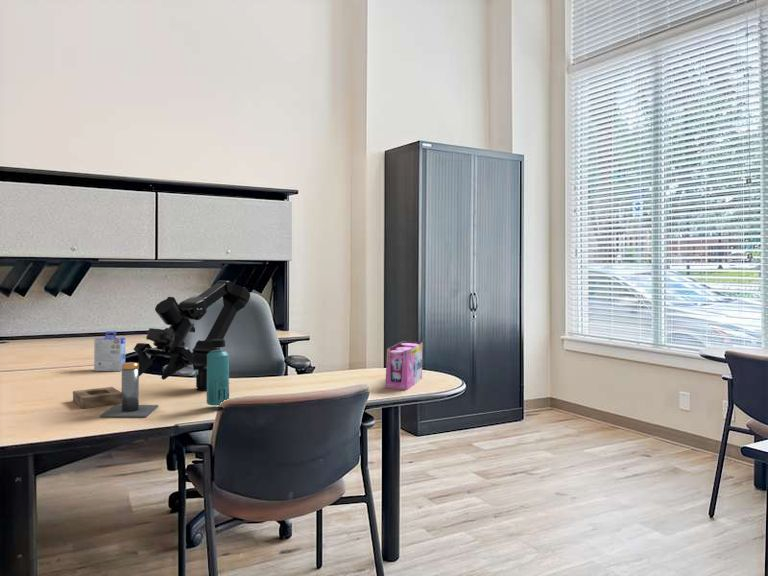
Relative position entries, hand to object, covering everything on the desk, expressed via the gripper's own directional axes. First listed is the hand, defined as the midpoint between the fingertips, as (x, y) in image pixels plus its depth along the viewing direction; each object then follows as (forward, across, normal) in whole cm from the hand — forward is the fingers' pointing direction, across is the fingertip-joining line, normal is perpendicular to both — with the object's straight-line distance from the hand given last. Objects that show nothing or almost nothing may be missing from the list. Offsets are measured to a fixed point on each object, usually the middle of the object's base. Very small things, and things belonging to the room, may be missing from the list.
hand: (149, 377), depth 179 cm
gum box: (-40, +54, +53) cm, 86 cm away
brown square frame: (+8, -17, +4) cm, 19 cm away
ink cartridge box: (-20, -53, +32) cm, 65 cm away
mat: (+11, 0, 0) cm, 11 cm away
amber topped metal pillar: (+11, 0, 0) cm, 11 cm away
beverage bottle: (+1, +18, +11) cm, 22 cm away
